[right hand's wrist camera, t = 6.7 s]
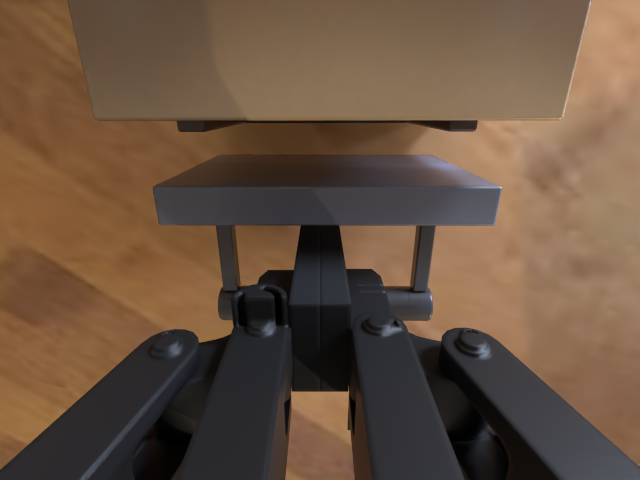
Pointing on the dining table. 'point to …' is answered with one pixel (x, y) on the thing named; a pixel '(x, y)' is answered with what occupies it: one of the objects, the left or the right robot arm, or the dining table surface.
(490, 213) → the drawer
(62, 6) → the dining table surface
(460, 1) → the cabinet
